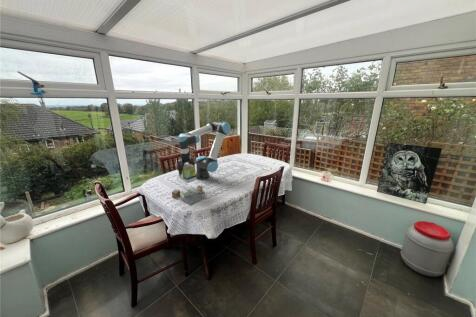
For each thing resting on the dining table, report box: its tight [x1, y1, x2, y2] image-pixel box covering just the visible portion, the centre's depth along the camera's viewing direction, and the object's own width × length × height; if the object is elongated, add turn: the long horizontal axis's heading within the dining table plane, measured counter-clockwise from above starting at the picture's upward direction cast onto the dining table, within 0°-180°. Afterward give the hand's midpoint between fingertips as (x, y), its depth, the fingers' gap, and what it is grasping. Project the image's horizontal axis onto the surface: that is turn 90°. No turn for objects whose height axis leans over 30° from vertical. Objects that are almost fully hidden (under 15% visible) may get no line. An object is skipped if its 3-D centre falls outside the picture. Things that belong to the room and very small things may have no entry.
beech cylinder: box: [196, 184, 204, 195], centre depth 171 cm, size 5×5×6 cm
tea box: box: [178, 162, 197, 184], centre depth 171 cm, size 15×10×15 cm
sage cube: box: [182, 189, 190, 197], centre depth 166 cm, size 4×4×4 cm
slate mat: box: [180, 191, 206, 206], centre depth 161 cm, size 16×14×1 cm
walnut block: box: [171, 189, 181, 199], centre depth 164 cm, size 5×5×5 cm
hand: (187, 175), depth 172 cm, fingers closed on tea box, 10 cm apart
